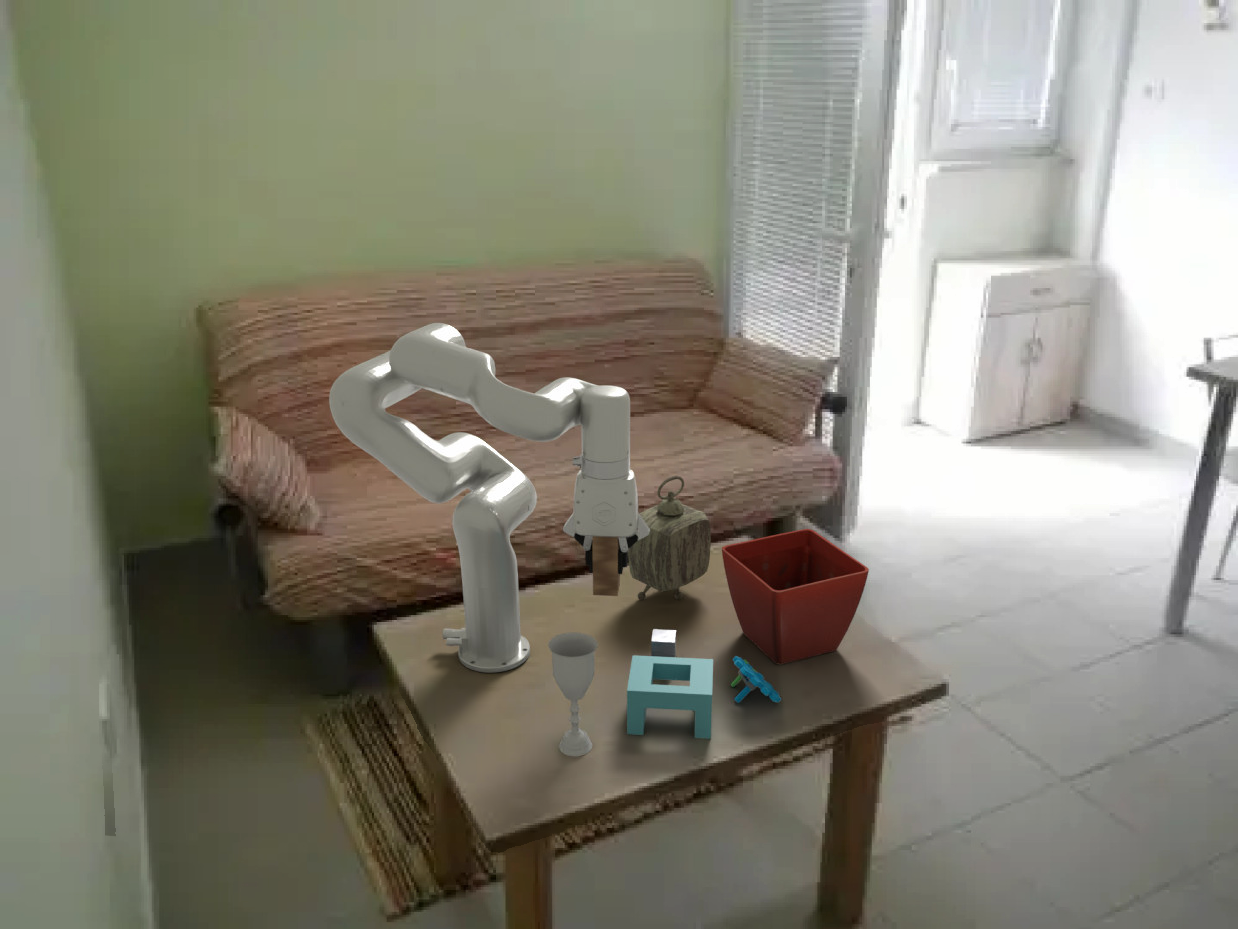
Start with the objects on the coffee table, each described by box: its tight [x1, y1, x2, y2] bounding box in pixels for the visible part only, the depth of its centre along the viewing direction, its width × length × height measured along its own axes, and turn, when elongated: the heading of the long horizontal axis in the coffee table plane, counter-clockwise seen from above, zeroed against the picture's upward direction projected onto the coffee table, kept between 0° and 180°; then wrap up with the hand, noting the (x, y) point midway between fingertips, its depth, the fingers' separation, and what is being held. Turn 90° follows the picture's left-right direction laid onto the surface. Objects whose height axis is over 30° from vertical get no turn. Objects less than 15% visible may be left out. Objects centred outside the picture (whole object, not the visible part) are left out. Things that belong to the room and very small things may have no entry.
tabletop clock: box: [627, 475, 712, 601], centre depth 197 cm, size 14×9×25 cm, turn 133°
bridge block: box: [626, 654, 714, 739], centre depth 163 cm, size 13×10×8 cm
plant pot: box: [721, 528, 870, 665], centre depth 183 cm, size 19×19×17 cm
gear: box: [730, 655, 782, 704], centre depth 169 cm, size 11×6×10 cm
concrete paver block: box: [650, 628, 677, 657], centre depth 178 cm, size 4×4×6 cm
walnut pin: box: [592, 536, 621, 597], centre depth 167 cm, size 4×4×12 cm
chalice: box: [547, 631, 598, 757], centre depth 155 cm, size 7×7×18 cm
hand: (606, 568), depth 168 cm, fingers closed on walnut pin, 4 cm apart
